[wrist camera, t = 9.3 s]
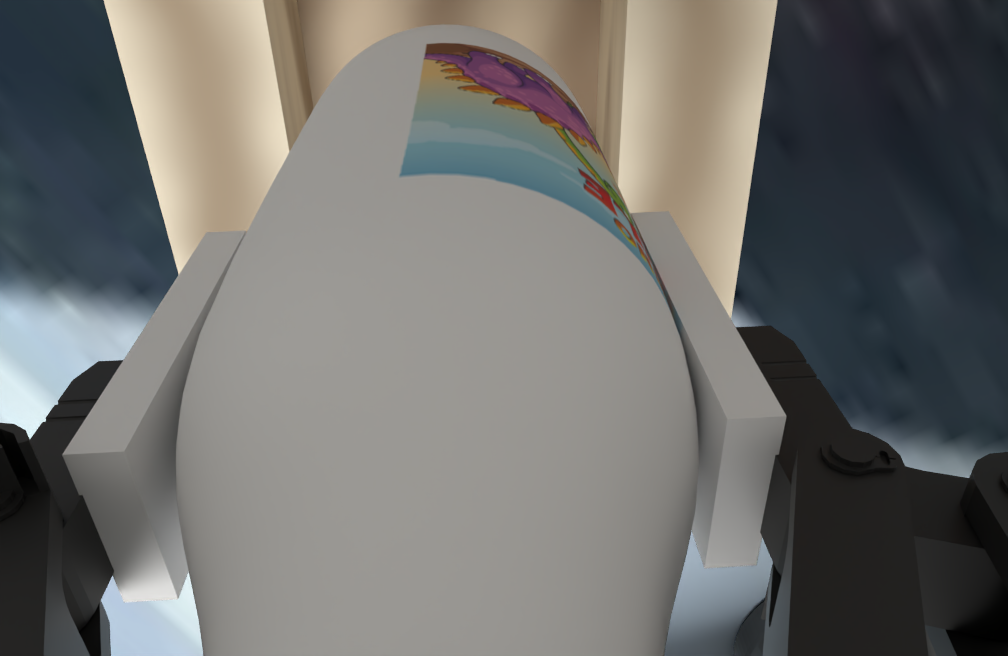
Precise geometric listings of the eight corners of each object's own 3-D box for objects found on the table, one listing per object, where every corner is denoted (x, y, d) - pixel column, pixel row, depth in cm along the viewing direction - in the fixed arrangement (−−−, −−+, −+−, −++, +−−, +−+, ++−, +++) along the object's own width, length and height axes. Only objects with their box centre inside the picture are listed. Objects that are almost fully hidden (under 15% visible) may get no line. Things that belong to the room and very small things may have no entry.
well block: (753, -306, 30) (827, -344, 24) (690, 264, 42) (728, 334, 36) (106, -289, 29) (15, -324, 23) (239, 285, 41) (202, 359, 36)
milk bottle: (390, 325, 24) (229, 1462, 7) (252, 94, 20) (-800, 1358, 3) (627, 230, 23) (1114, 1341, 6) (527, -36, 19) (1088, 946, 2)
